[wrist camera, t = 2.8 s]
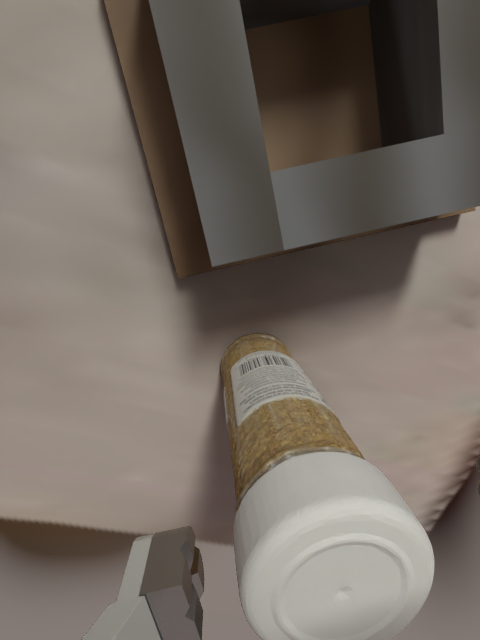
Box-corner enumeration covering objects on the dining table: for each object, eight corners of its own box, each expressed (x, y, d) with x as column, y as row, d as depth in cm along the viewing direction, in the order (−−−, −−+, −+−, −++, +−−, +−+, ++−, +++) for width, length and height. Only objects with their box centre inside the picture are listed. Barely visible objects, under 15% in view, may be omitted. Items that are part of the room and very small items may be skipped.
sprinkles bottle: (215, 394, 20) (224, 672, 7) (226, 325, 19) (258, 501, 6) (285, 402, 21) (412, 672, 8) (299, 335, 20) (472, 515, 7)
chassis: (179, 276, 18) (166, 289, 13) (101, -19, 15) (39, -168, 9) (461, 212, 19) (561, 199, 13) (449, -87, 15) (577, -264, 10)
